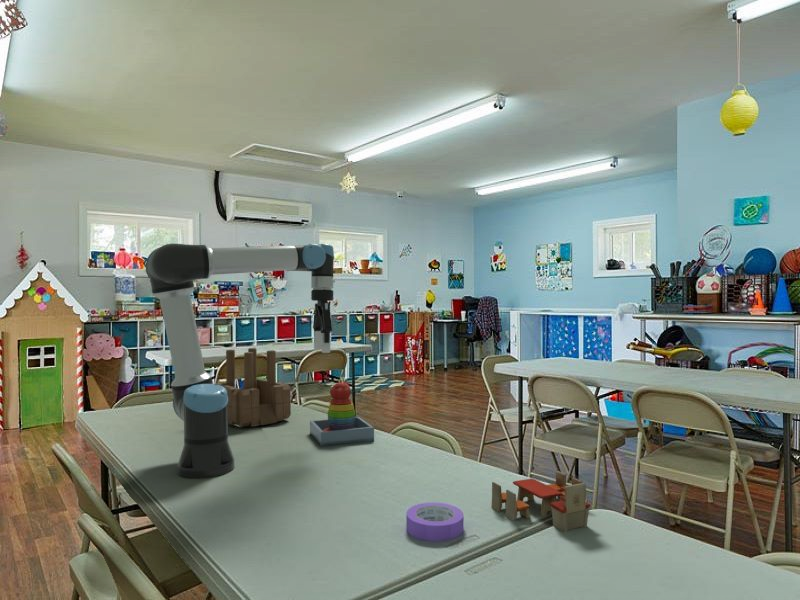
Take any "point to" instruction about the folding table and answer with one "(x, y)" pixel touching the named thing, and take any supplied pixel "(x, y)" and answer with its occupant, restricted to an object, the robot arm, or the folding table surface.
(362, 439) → the tray
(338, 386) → the stacking bear
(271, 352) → the wooden toy structure
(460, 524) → the masking tape
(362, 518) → the folding table surface
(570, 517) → the dollhouse furniture set
